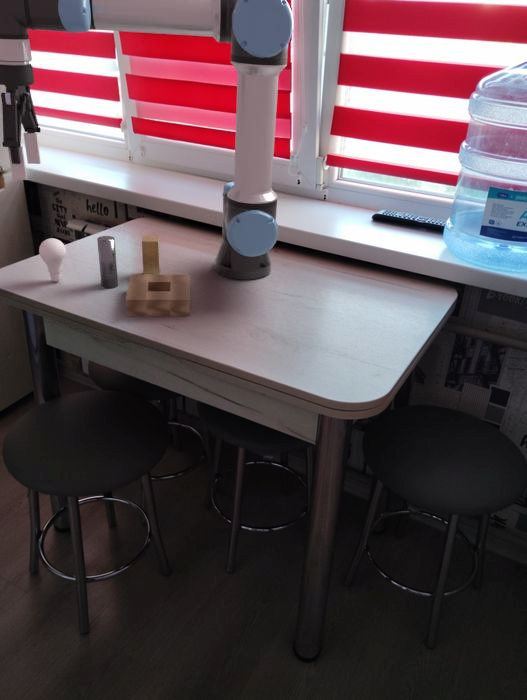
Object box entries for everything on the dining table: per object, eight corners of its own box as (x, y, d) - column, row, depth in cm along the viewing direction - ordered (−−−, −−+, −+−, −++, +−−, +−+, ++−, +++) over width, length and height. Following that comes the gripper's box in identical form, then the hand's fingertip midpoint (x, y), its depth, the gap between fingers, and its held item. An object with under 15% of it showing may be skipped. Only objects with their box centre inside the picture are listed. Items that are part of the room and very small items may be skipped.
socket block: (189, 289, 147) (189, 274, 145) (189, 315, 135) (189, 299, 133) (131, 289, 145) (130, 274, 143) (126, 315, 133) (125, 299, 131)
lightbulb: (62, 288, 143) (56, 244, 138) (38, 284, 144) (32, 241, 139) (74, 278, 148) (69, 236, 143) (51, 275, 149) (45, 233, 144)
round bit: (118, 281, 148) (115, 236, 142) (117, 288, 145) (113, 241, 139) (102, 281, 148) (98, 235, 142) (100, 288, 144) (96, 241, 138)
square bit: (160, 272, 155) (158, 236, 150) (159, 278, 151) (158, 241, 146) (144, 272, 154) (142, 235, 149) (143, 278, 151) (141, 241, 146)
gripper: (8, 56, 128) (22, 157, 138) (-28, 67, 106) (-7, 186, 117) (44, 57, 129) (56, 158, 139) (16, 69, 107) (32, 187, 118)
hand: (27, 171), depth 128 cm, fingers open, 13 cm apart
